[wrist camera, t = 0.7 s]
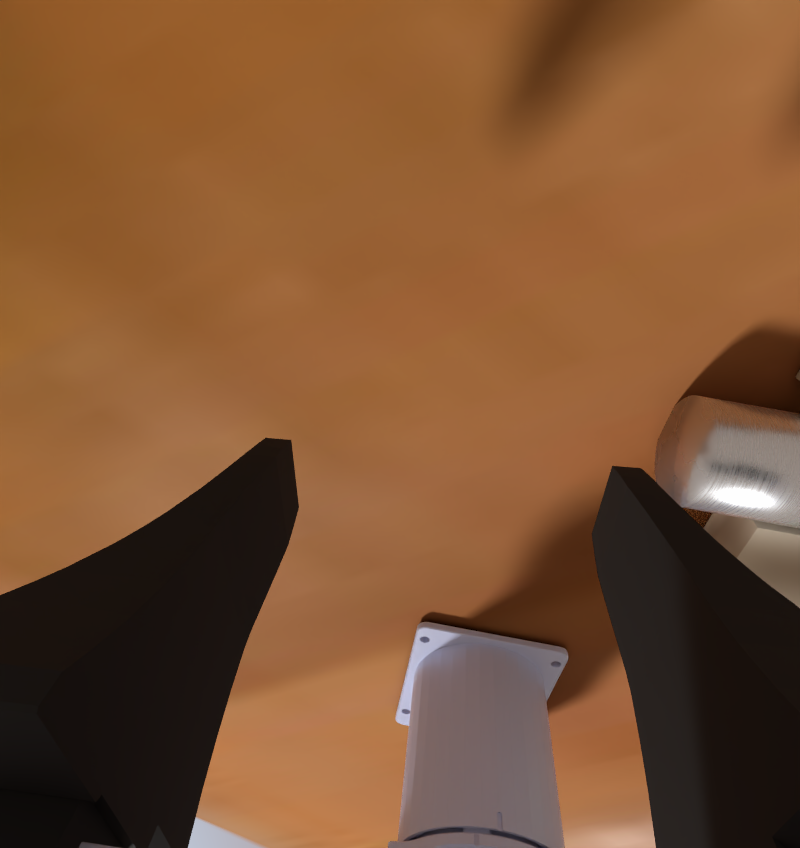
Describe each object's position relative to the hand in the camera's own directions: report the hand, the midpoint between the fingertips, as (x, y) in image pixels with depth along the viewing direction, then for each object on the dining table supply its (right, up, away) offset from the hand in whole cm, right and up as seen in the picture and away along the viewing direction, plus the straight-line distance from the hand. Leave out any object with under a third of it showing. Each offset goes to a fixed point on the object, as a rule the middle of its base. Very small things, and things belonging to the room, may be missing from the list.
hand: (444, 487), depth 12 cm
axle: (+14, +1, +8) cm, 16 cm away
